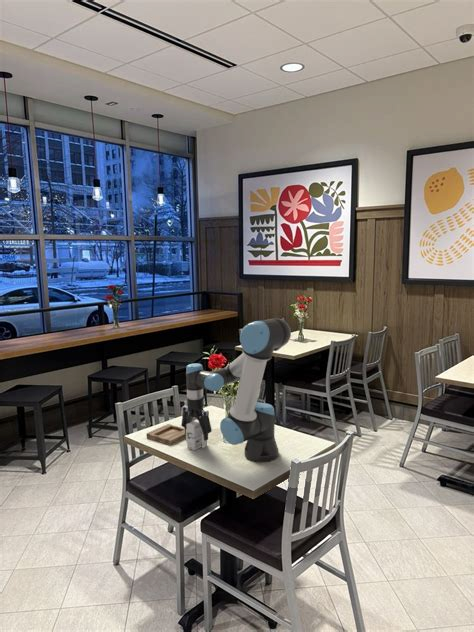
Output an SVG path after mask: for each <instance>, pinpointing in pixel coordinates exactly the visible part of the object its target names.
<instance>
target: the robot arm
mask: <svg viewBox="0 0 474 632" xmlns="http://www.w3.org/2000/svg"><path fill="white" fill-rule="evenodd" d="M240 331H241V332H240V335H239V342H240V343H241V344H240V347H241V348H242V353H241V354H240V355H239V356H237V358H235V359H234V360H233V361H231V362H230V364H228V365H227V366H225V367H224V368H220V369H216V370H212V371H208V370H207V371H206V370H204V368H203V364H201V363H189V364H188V365H186V366H185V369H186V372H185V377H186V379H185V380H186V381H185V382H186V397H187V398H186V399H187V406H185V405H184V406H185V407H183V406H182V407H183V417H182V416H181V417H182V418H181V425H180V427H181V428H185V435H186V438H185V441H186V444H187V426H186V424H188V423H190V422H192V419H193V417H195V418H197V420H198V421H199V423H200V426H201V428H202V431H203V433H202V447H201V448H205V447H207V446H208V440H209V433H212V432H213V431H212V426H211V421H210V416H209V413H210V412H209V410H205V409H204V405H205V403H204V402H205V401H204V389H205V390H208V391H213V392H218V391H220V390H221V389H222V388H223V386H226V385H230V384H233V383H234V384H235V383H236V382H239V383H238V387H237V392H236V397H235V400H234V404H232V405H231V406H230V407H229V410H228V415H227V416H226V417H223V419H221V422H220V423H219V429H220V432H221V435H222V437H223V438H224V440H225V441H226V442H227V443H229V444H230V445H233V446H237V445H239V444H240V445H241V444H244V443H245V442H246V444H245V447H244V450H243V451H244V457H245V458H246V459H248V460H249V461H253V462H257V463H265V462H266V463H267V462H271V461H274V460H276V459H277V458H279V454H280V453H279V447H278V444H277V441H276V438H275V416H276V415H275V408H274V406H273V405H272V404H270V403H265V402H261V401H260V402H259V401H258V397H259V394H260V389H261V386H262V383H263V378H264V373H265V369H266V366H267V362H268V361H270V360H271V359H272V357H273V353H274V352H277V351H279V350H280V349H282V348H283V347H284V346H285V345H287V344H288V343H289V341H290V339H291V337H292V332H291V327H290V325H289V323H287V322H286V320H284V319H281V318H277V317H275V318H269V319H263V320H256V321H252V322H249V323H247V324H246V325H245V326H243V328H242V329H241V330H240ZM188 412H189V415H188ZM200 416H201V417H200ZM199 417H200V418H199ZM205 430H206V431H205Z"/></svg>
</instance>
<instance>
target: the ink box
mask: <svg viewBox="0 0 474 632" xmlns="http://www.w3.org/2000/svg"><path fill="white" fill-rule="evenodd" d="M186 426H187V443H186V447H187V449H189V450H193V451H196V450H198V449H200V448H203V447H202V433H203V431H202V428H201V426H200V423H199V421H198V420H194V421H192V422H190V423H188V424H186ZM205 431H206V430H205Z"/></svg>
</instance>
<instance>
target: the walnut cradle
mask: <svg viewBox="0 0 474 632" xmlns="http://www.w3.org/2000/svg"><path fill="white" fill-rule="evenodd" d="M146 439H149V440H153V441H157V442H159V443H162V444H166V445H169V446H172V445H175V444H176V443H177V442H180V441H183V440H184V439H186V435H185V428H184V427H182V426H177V425H173V424H170V423H167V424H165V425H162V426H160V427H158V428H156V429H153V430H151V431H149V432H147V433H146Z"/></svg>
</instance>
